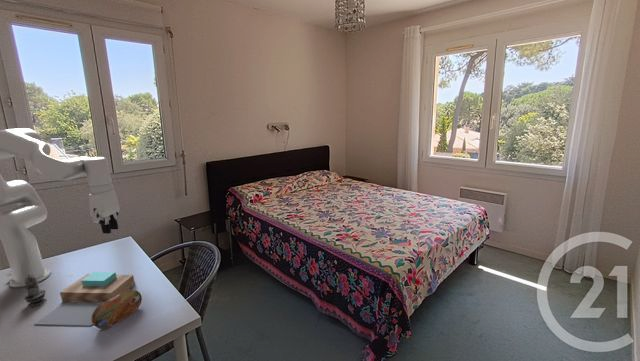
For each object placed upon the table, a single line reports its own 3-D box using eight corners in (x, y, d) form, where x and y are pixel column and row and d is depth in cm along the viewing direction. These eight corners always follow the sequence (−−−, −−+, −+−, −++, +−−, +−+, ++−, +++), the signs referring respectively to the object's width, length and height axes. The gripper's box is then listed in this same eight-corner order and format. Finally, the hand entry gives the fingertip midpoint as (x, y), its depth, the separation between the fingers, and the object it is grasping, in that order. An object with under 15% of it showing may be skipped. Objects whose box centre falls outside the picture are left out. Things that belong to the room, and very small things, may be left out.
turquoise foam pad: (82, 286, 111) (81, 280, 110) (95, 277, 117) (94, 271, 116) (104, 286, 110) (103, 280, 110) (116, 277, 116) (115, 272, 115)
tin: (98, 335, 91) (92, 312, 89) (92, 332, 93) (87, 309, 91) (144, 306, 105) (140, 286, 103) (138, 304, 106) (134, 283, 104)
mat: (34, 324, 97) (34, 323, 96) (64, 303, 107) (64, 302, 107) (91, 326, 95) (90, 325, 95) (115, 304, 106) (115, 303, 106)
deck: (62, 301, 108) (59, 292, 107) (89, 282, 120) (86, 274, 119) (112, 302, 107) (110, 293, 106) (134, 283, 119) (133, 274, 118)
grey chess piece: (47, 295, 112) (39, 268, 109) (48, 302, 108) (39, 274, 105) (26, 303, 108) (17, 274, 105) (26, 310, 104) (16, 281, 101)
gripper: (108, 183, 123) (117, 223, 127) (74, 194, 107) (85, 239, 111) (125, 183, 122) (133, 223, 127) (93, 194, 106) (103, 240, 111)
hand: (110, 230), depth 119 cm, fingers open, 3 cm apart
